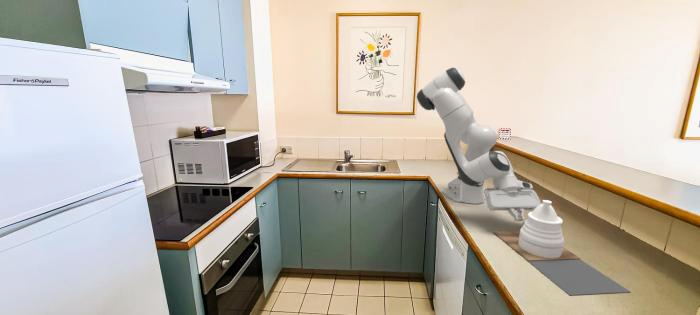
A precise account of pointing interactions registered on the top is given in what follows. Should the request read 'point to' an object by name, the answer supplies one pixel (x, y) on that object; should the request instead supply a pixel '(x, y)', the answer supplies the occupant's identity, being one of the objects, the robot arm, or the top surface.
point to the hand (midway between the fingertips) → (519, 220)
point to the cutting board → (512, 240)
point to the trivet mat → (577, 277)
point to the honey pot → (542, 232)
